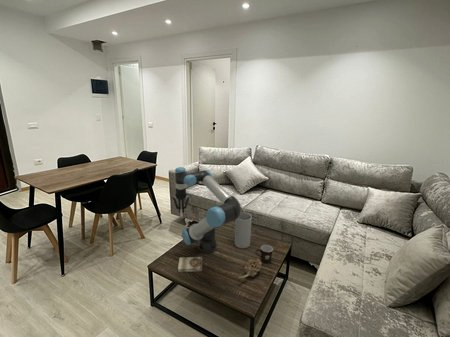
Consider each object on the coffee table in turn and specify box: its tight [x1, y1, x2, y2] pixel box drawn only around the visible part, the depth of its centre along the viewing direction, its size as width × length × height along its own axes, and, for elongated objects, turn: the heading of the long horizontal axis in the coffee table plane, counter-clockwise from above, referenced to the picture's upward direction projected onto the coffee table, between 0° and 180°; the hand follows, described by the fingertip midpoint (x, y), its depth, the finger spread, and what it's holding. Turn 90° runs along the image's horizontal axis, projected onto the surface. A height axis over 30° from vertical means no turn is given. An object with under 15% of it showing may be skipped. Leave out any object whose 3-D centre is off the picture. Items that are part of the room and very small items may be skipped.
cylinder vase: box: [234, 212, 253, 249], centre depth 191 cm, size 12×12×25 cm
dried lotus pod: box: [238, 258, 262, 280], centre depth 158 cm, size 22×10×10 cm, turn 144°
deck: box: [177, 256, 203, 273], centre depth 168 cm, size 16×12×2 cm
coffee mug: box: [255, 244, 274, 264], centre depth 175 cm, size 12×9×10 cm
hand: (181, 216), depth 185 cm, fingers closed
